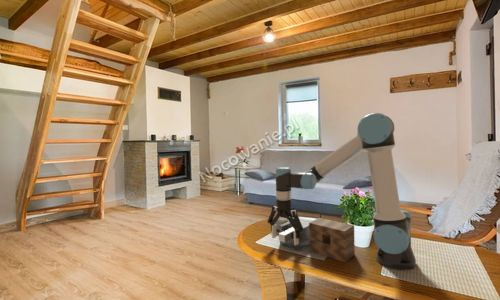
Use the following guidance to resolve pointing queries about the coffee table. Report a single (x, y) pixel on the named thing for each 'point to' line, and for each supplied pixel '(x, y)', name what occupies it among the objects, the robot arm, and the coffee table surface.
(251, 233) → the coffee table surface
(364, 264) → the coffee table surface
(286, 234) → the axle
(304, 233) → the v block
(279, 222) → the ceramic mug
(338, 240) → the brown wooden box
